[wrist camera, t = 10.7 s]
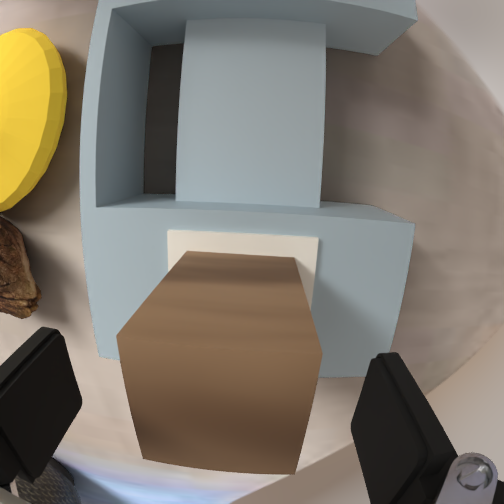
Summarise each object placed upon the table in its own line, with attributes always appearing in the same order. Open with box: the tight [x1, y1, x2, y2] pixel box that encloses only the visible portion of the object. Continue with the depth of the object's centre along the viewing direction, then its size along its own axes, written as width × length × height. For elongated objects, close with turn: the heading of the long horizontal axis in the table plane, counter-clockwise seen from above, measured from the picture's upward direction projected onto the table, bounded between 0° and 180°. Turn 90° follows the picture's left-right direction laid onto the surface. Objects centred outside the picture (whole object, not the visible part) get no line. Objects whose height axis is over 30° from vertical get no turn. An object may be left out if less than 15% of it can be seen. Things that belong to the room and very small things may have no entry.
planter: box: [15, 457, 81, 504], centre depth 25 cm, size 17×17×16 cm
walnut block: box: [116, 251, 323, 474], centre depth 12 cm, size 5×5×8 cm
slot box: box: [80, 0, 418, 378], centre depth 17 cm, size 25×17×7 cm
